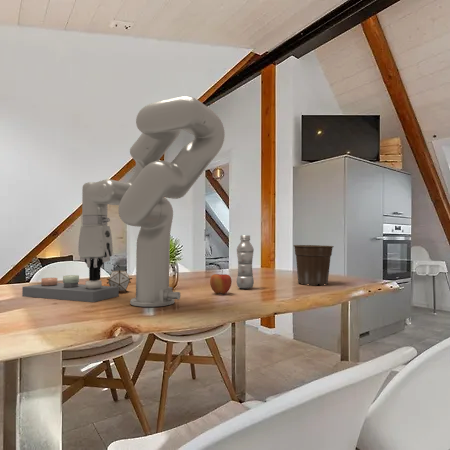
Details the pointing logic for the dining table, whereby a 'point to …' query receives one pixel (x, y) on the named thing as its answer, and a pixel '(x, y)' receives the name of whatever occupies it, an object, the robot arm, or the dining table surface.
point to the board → (70, 292)
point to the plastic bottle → (245, 263)
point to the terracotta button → (49, 281)
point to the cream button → (93, 284)
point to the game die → (119, 279)
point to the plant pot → (313, 263)
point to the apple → (220, 283)
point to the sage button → (70, 281)
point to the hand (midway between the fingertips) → (94, 280)
